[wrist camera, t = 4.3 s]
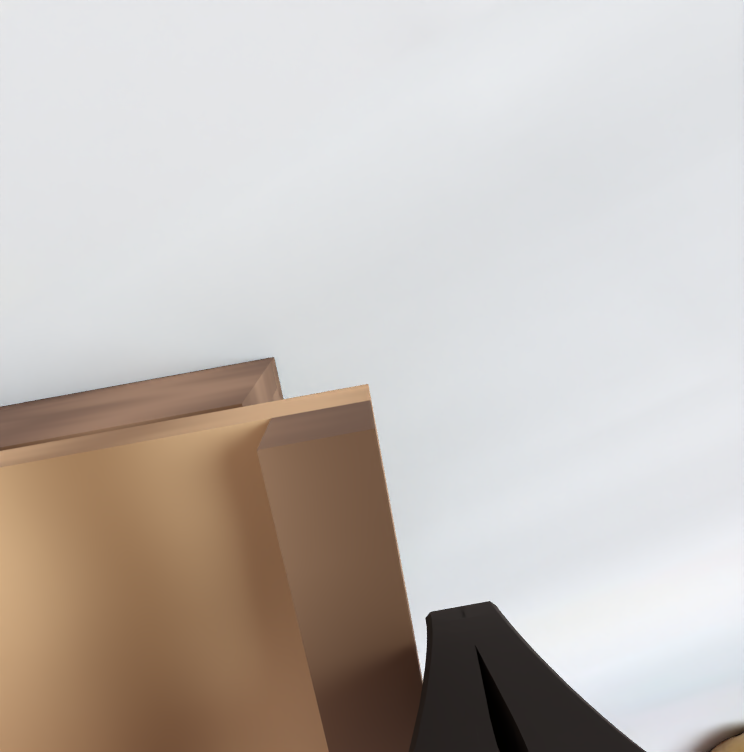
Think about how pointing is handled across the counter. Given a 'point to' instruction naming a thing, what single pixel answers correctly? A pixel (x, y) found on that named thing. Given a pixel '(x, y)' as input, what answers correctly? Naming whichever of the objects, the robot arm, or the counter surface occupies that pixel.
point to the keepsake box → (139, 403)
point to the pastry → (731, 745)
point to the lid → (207, 587)
